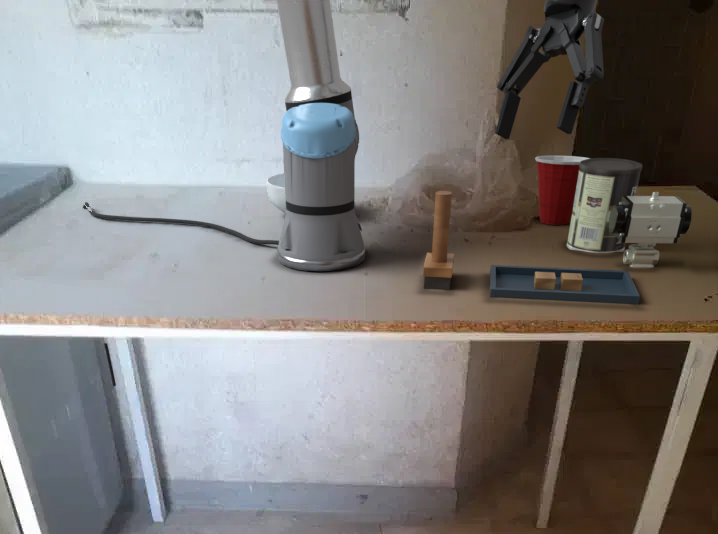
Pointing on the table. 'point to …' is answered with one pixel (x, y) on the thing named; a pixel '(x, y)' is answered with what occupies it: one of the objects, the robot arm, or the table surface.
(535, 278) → the brown wooden block
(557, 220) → the plastic cup
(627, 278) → the tray
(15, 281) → the table surface
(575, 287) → the small wooden block
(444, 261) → the brush
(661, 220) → the pneumatic valve
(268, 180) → the cereal bowl
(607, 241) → the coffee can
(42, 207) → the table surface
